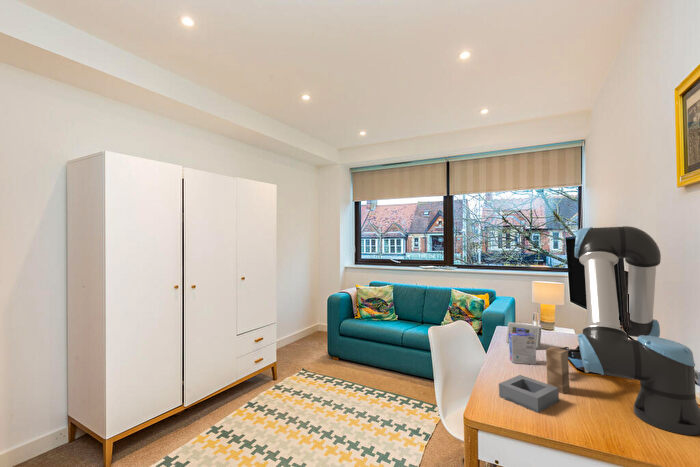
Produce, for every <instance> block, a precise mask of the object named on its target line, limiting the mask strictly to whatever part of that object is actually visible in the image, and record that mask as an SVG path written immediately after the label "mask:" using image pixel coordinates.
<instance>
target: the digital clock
mask: <svg viewBox="0 0 700 467" xmlns="http://www.w3.org/2000/svg"><path fill="white" fill-rule="evenodd" d="M507 323H508V324H507V330H506V331H507V332H506V343H508V344H509V333H516V328H525V332H526V333H532V334H533V335H534V336H535V349H536V350H539V349H540V348H541V338H542V327H540V326H537V325H533V324H525V323H521V322H512V321H509V322H507ZM518 331H524V330H521V329H520V330H518Z"/></svg>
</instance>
